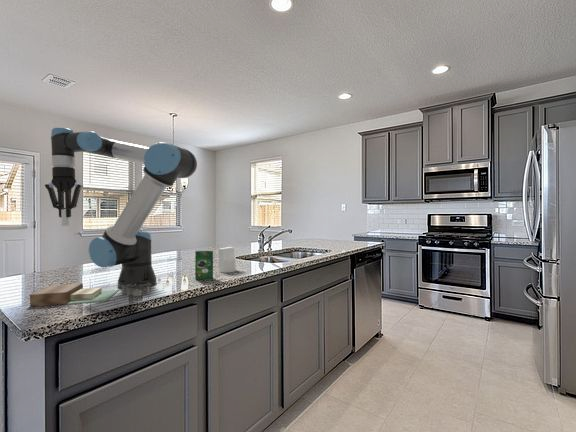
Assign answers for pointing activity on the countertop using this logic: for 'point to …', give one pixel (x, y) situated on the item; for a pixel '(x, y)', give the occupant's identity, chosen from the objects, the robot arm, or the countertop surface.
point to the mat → (97, 297)
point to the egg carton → (136, 289)
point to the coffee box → (203, 265)
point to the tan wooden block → (54, 294)
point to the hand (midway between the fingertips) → (65, 225)
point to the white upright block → (226, 260)
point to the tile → (86, 293)
